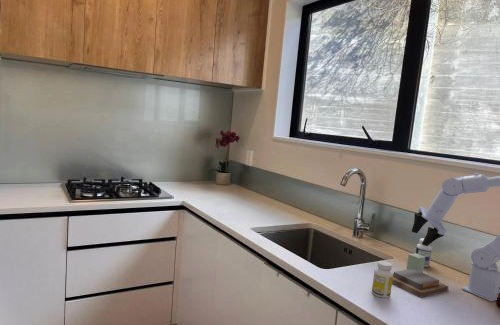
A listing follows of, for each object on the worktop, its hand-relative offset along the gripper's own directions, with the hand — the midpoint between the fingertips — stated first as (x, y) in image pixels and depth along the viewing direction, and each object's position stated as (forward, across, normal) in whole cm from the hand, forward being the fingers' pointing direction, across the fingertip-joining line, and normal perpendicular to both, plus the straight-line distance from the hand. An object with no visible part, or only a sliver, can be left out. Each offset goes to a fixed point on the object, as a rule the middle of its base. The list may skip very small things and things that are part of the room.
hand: (419, 238), depth 139 cm
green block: (+11, +5, +2) cm, 12 cm away
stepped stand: (+9, +16, -6) cm, 19 cm away
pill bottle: (+12, -2, +10) cm, 15 cm away
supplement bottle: (+10, +24, -22) cm, 34 cm away
